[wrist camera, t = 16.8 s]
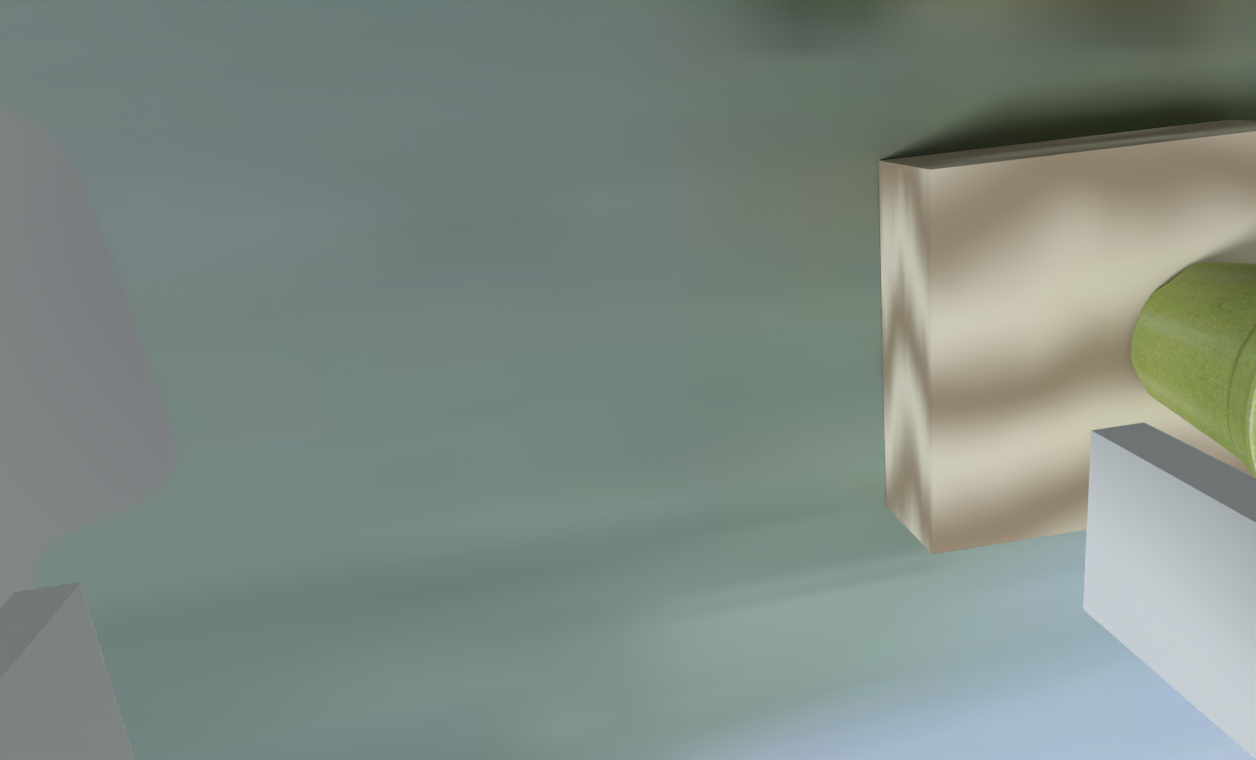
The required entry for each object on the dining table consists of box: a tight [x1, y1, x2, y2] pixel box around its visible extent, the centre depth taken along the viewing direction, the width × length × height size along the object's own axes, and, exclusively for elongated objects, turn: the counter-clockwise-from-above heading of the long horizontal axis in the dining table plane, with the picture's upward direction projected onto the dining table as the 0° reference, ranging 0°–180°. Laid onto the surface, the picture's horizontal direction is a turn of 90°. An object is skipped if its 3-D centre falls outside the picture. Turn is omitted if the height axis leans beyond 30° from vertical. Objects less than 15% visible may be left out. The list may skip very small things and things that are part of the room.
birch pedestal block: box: [879, 120, 1256, 554], centre depth 42 cm, size 16×16×5 cm
